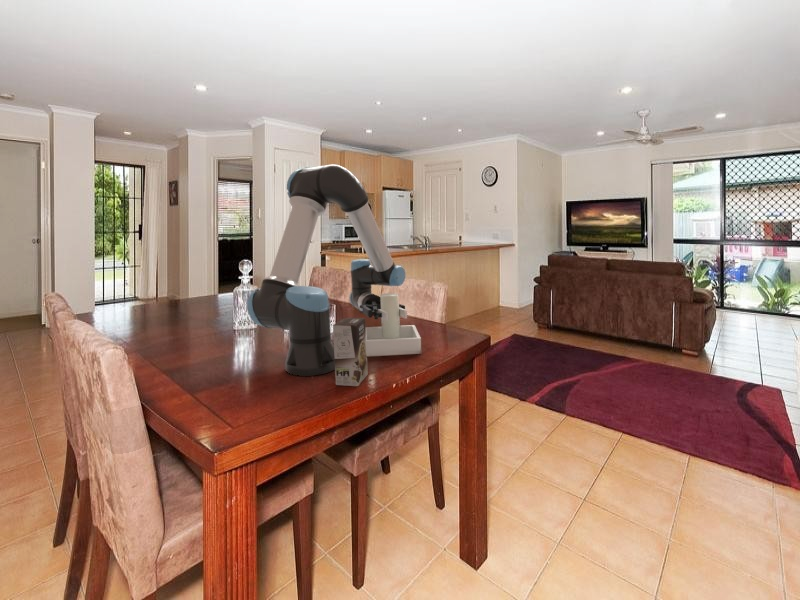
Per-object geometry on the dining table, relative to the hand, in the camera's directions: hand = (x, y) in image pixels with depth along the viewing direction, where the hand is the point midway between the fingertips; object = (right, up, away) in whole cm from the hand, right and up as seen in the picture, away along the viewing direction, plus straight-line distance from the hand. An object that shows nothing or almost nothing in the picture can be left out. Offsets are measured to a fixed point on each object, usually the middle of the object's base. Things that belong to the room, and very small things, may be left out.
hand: (396, 315), depth 138 cm
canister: (-2, -7, +6) cm, 9 cm away
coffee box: (-12, -17, -23) cm, 30 cm away
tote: (-2, -11, +6) cm, 13 cm away
